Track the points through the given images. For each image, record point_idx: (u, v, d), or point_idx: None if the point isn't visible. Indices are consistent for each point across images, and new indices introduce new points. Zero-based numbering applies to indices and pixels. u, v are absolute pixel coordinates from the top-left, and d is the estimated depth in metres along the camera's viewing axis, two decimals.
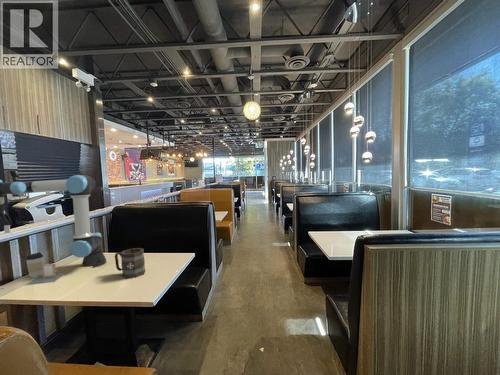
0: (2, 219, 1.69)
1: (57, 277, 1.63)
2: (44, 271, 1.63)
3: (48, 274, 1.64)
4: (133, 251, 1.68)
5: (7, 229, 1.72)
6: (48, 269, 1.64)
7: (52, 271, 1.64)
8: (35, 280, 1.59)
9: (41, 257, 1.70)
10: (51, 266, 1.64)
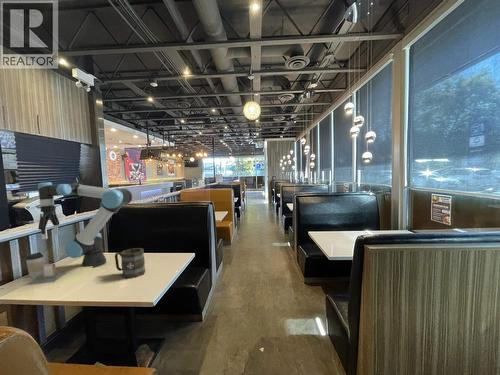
0: (51, 219, 1.79)
1: (57, 277, 1.63)
2: (44, 271, 1.63)
3: (48, 274, 1.64)
4: (133, 251, 1.68)
5: (55, 229, 1.82)
6: (48, 269, 1.64)
7: (52, 271, 1.64)
8: (35, 280, 1.59)
9: (41, 257, 1.70)
10: (51, 266, 1.64)
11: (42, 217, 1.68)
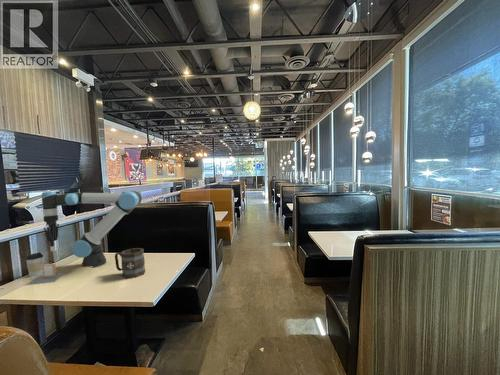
0: None
1: (57, 277, 1.63)
2: (44, 271, 1.63)
3: (48, 274, 1.64)
4: (133, 251, 1.68)
5: None
6: (48, 269, 1.64)
7: (52, 271, 1.64)
8: (35, 280, 1.59)
9: (41, 257, 1.70)
10: (51, 266, 1.64)
11: (47, 231, 1.66)
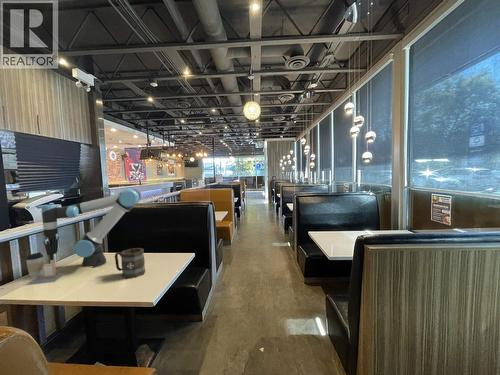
0: None
1: (57, 277, 1.63)
2: (44, 271, 1.63)
3: (48, 274, 1.64)
4: (133, 251, 1.68)
5: None
6: (48, 269, 1.64)
7: (52, 271, 1.64)
8: (35, 280, 1.59)
9: (41, 257, 1.70)
10: (51, 266, 1.64)
11: (47, 244, 1.64)
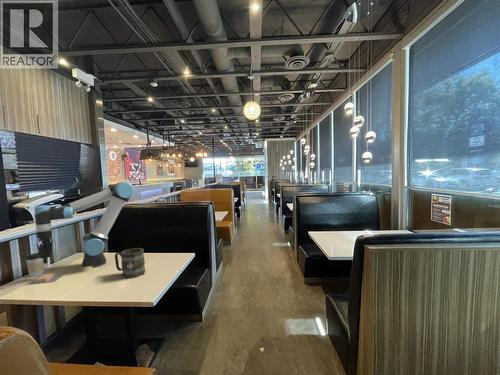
0: None
1: (57, 277, 1.63)
2: None
3: None
4: (133, 251, 1.68)
5: None
6: None
7: None
8: None
9: None
10: None
11: (40, 247, 1.57)
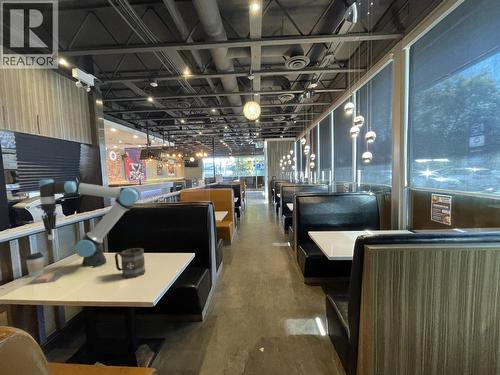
0: None
1: (57, 277, 1.63)
2: None
3: None
4: (133, 251, 1.68)
5: None
6: None
7: None
8: None
9: (41, 257, 1.70)
10: None
11: (44, 219, 1.63)
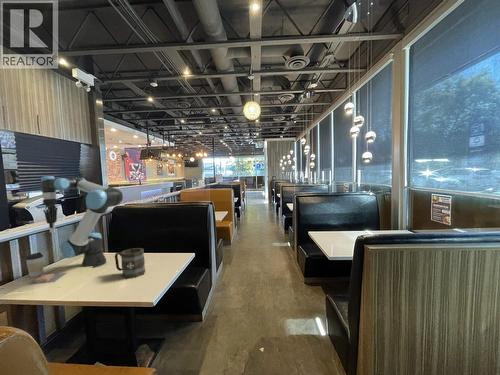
0: None
1: (57, 277, 1.63)
2: None
3: None
4: (133, 251, 1.68)
5: None
6: None
7: None
8: None
9: (41, 257, 1.70)
10: None
11: (46, 213, 1.76)
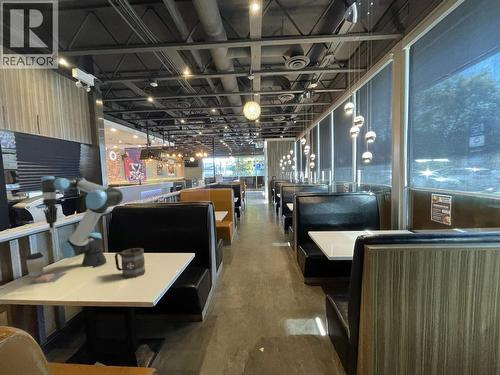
0: None
1: (57, 277, 1.63)
2: None
3: None
4: (133, 251, 1.68)
5: None
6: None
7: None
8: None
9: (41, 257, 1.70)
10: None
11: (46, 213, 1.76)
